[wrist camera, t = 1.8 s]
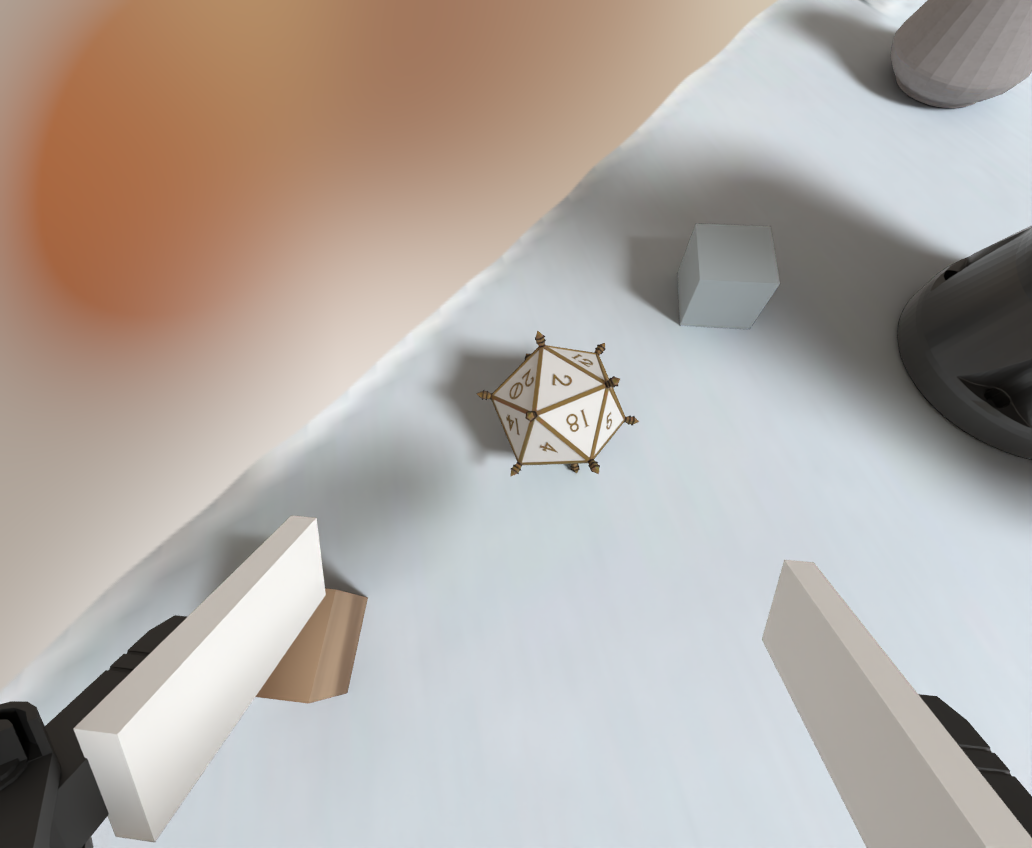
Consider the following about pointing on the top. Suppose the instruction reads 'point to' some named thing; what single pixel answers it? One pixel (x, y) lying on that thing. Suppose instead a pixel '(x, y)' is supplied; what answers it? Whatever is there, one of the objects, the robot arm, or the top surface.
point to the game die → (558, 407)
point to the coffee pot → (963, 50)
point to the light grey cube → (726, 275)
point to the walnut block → (320, 652)
